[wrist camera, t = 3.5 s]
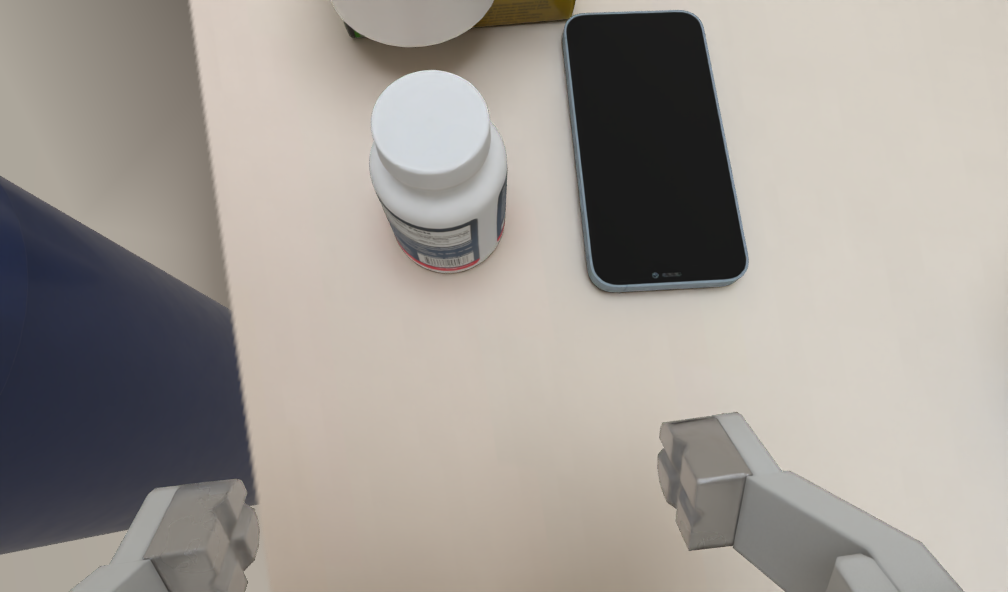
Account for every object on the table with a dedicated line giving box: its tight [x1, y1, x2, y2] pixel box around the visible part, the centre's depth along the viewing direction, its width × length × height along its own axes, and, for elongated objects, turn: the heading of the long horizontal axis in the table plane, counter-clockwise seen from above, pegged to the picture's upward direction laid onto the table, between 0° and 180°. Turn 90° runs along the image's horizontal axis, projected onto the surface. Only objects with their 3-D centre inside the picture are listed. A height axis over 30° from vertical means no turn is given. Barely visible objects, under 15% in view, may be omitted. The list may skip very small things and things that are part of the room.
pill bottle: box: [369, 70, 507, 273], centre depth 23 cm, size 5×5×9 cm
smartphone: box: [562, 10, 749, 292], centre depth 28 cm, size 7×1×15 cm
